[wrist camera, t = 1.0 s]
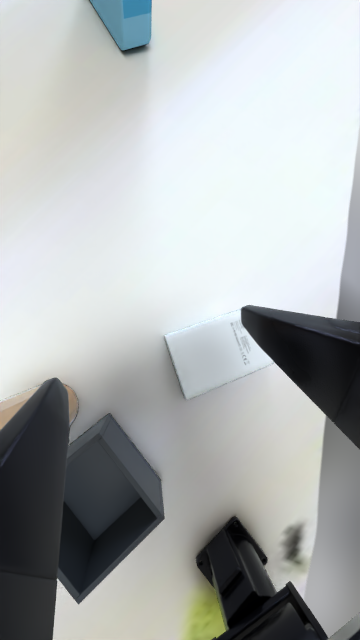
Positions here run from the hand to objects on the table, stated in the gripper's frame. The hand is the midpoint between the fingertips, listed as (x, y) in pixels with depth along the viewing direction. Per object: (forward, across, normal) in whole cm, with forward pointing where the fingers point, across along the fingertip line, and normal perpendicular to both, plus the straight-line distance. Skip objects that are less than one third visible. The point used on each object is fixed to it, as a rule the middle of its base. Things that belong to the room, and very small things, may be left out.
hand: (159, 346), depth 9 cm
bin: (+5, +10, +19) cm, 22 cm away
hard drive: (+10, -8, +12) cm, 18 cm away
